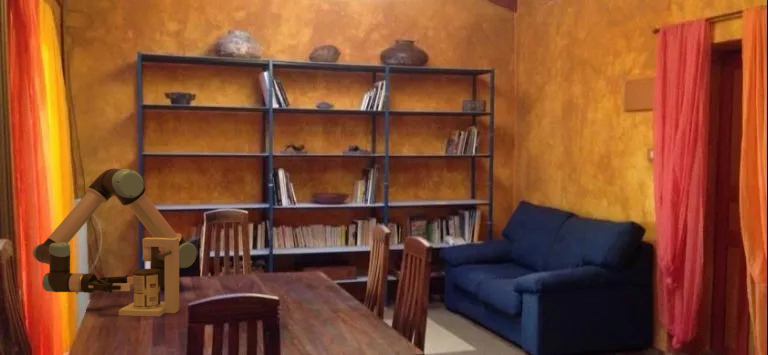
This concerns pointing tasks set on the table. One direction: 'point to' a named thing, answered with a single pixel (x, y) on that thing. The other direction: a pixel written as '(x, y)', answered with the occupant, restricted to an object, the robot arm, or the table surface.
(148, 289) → the coffee can
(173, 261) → the press
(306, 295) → the table surface
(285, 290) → the table surface
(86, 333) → the table surface
